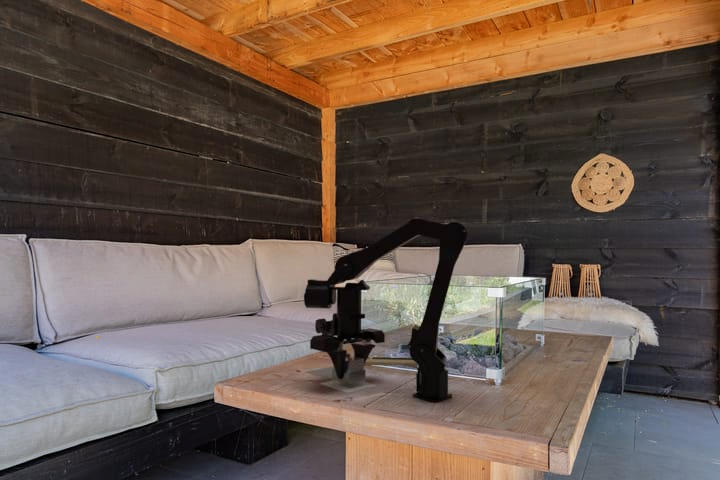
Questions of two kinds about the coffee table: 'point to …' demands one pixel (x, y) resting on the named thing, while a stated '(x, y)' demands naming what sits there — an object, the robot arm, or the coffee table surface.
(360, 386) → the stand
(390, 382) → the coffee table surface
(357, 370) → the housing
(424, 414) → the coffee table surface
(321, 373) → the stand
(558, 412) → the coffee table surface
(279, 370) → the coffee table surface
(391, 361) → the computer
